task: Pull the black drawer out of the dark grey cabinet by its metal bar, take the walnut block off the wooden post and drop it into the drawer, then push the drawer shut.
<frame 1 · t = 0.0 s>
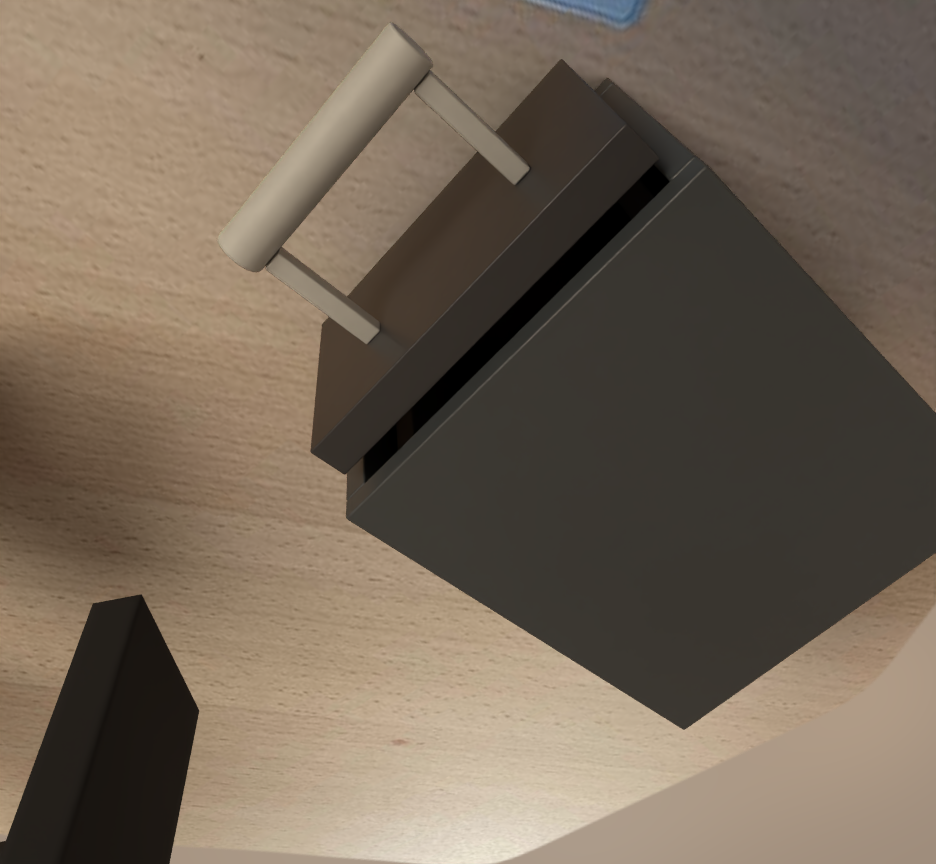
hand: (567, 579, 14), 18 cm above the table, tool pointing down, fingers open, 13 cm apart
drawer: (547, 333, 27), point 5 cm above the table, slide at 0.5 cm
cabinet: (612, 350, 33), on the table
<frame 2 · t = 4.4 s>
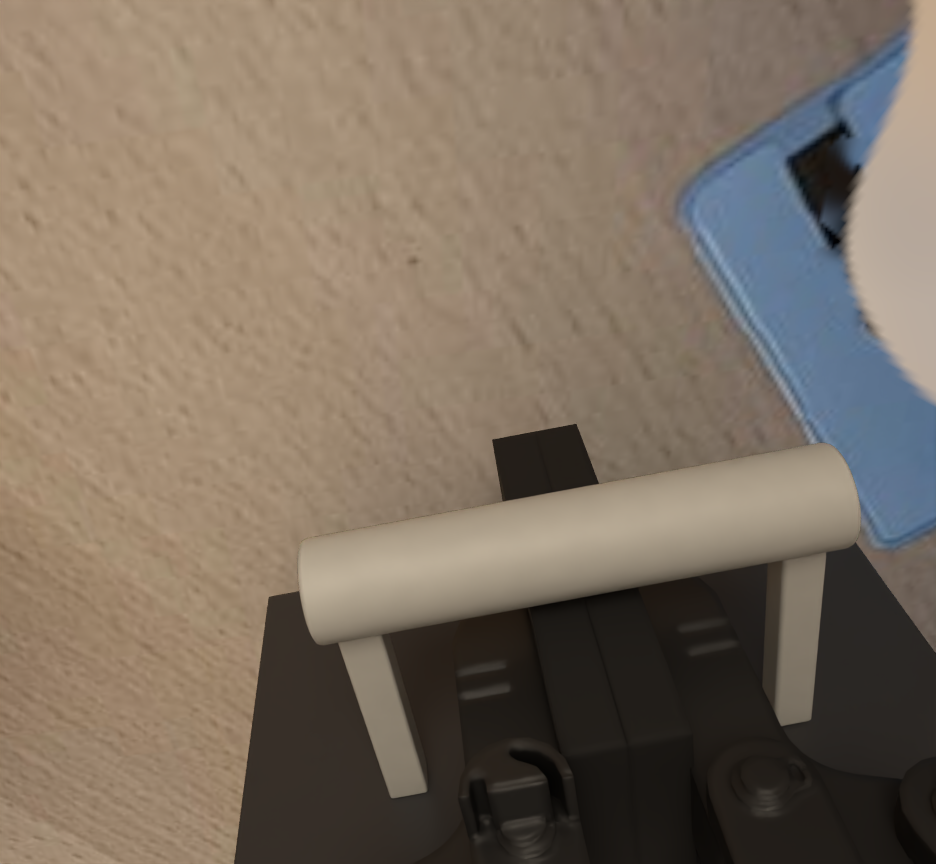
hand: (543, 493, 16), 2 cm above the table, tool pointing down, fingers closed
drawer: (602, 843, 17), point 5 cm above the table, slide at 2.2 cm
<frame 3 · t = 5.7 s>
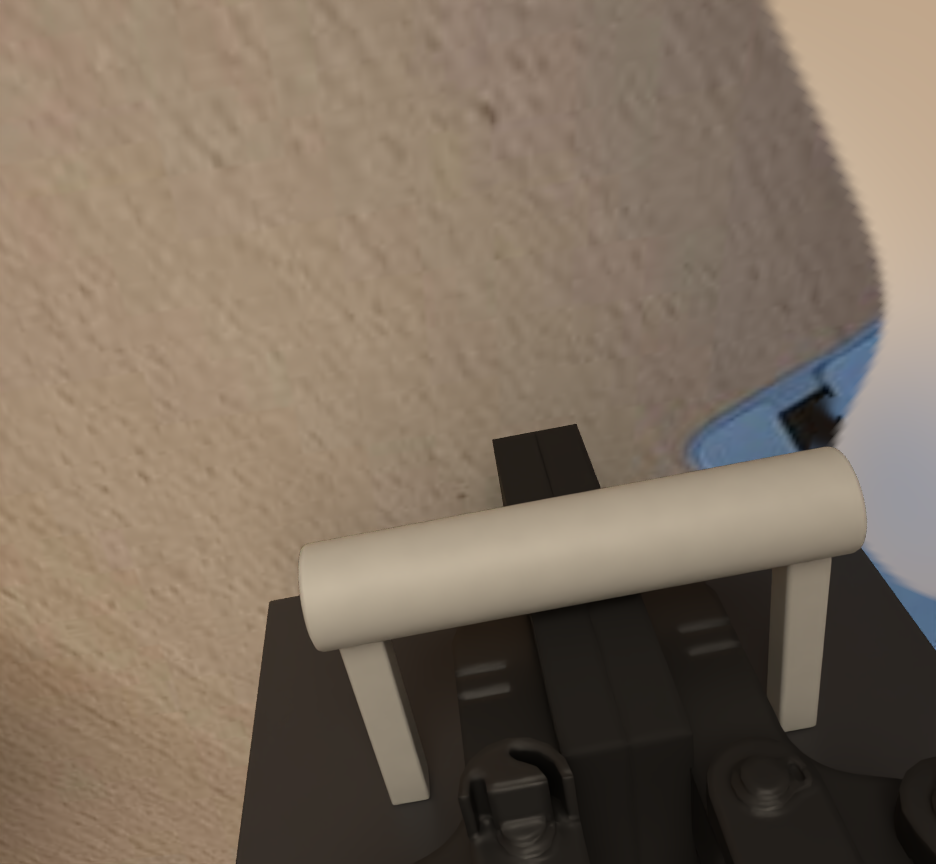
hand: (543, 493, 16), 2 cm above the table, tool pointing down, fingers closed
drawer: (605, 849, 17), point 5 cm above the table, slide at 7.3 cm
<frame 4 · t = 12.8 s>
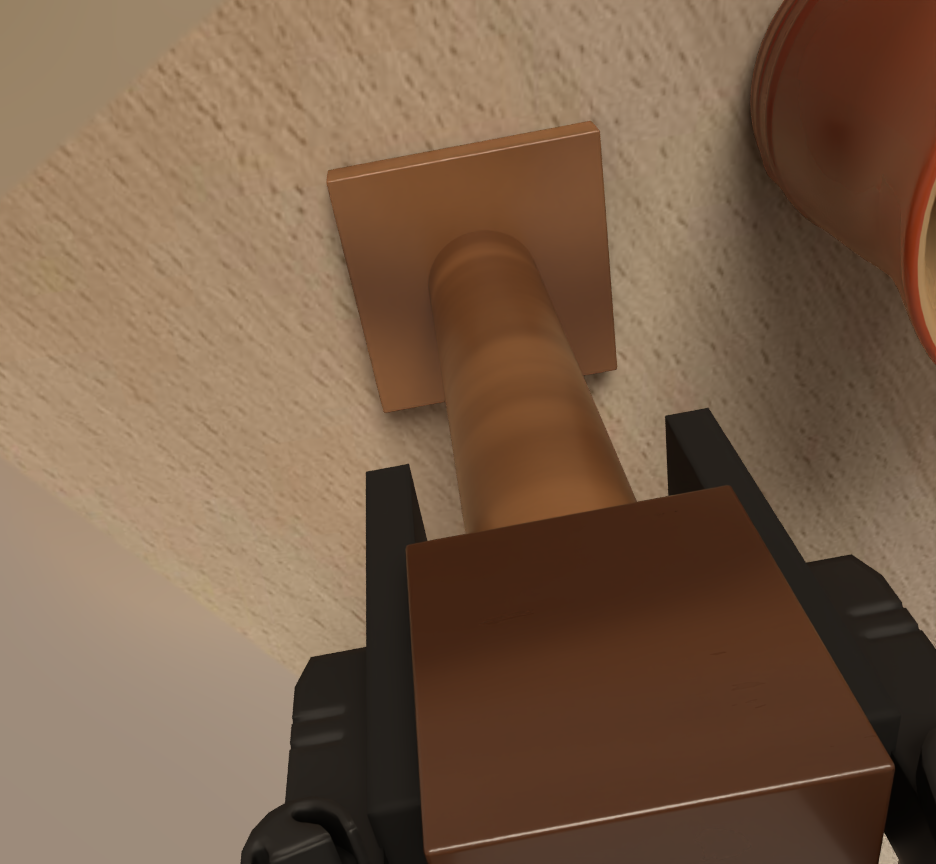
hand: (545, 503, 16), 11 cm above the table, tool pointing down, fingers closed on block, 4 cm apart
post: (479, 269, 25), on the table
block: (581, 629, 13), point 14 cm above the table, touching gripper, post
mug: (924, 76, 23), on the table
when the fingers open (9 cm above the table, at t = 20.3 s): block drops 10 cm, resting on drawer.
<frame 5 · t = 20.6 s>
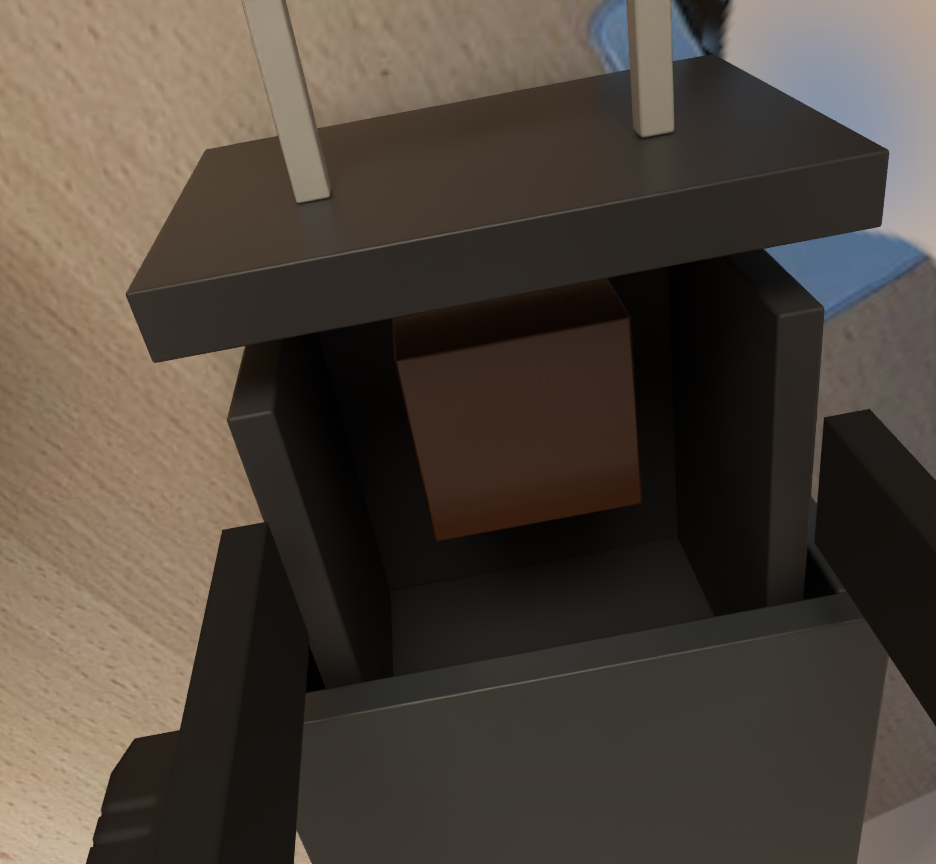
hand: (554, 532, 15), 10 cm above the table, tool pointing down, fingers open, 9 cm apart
drawer: (508, 354, 19), point 5 cm above the table, slide at 7.6 cm, touching block
cabinet: (535, 598, 29), on the table
block: (498, 336, 21), point 2 cm above the table, touching drawer
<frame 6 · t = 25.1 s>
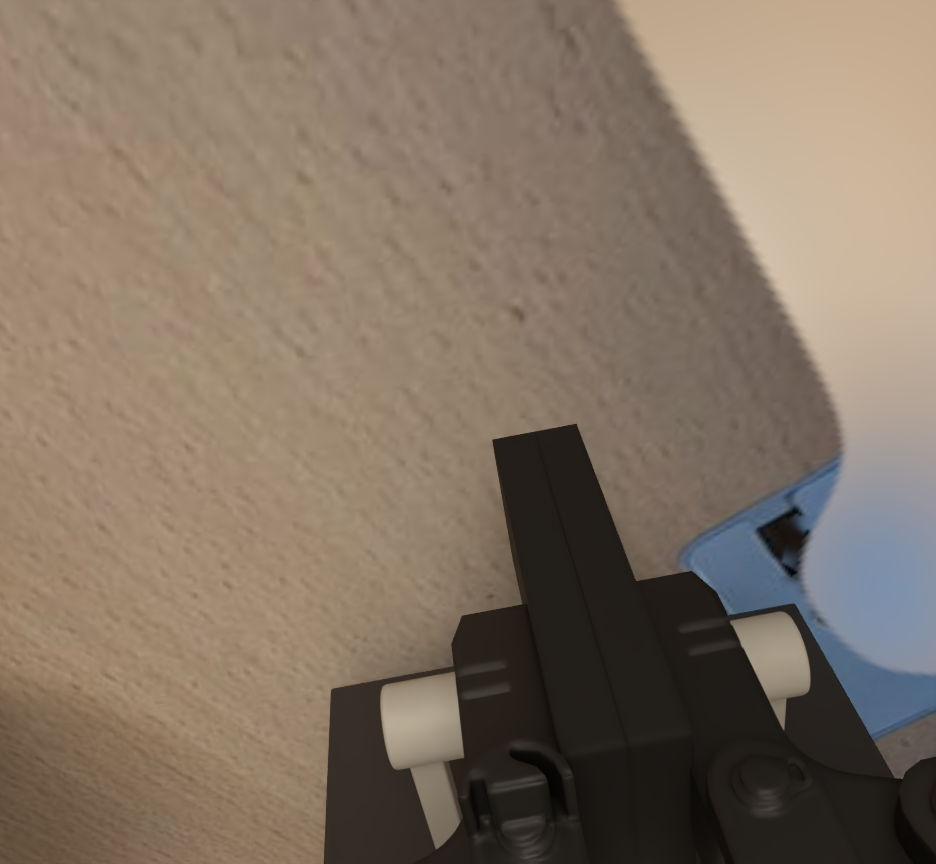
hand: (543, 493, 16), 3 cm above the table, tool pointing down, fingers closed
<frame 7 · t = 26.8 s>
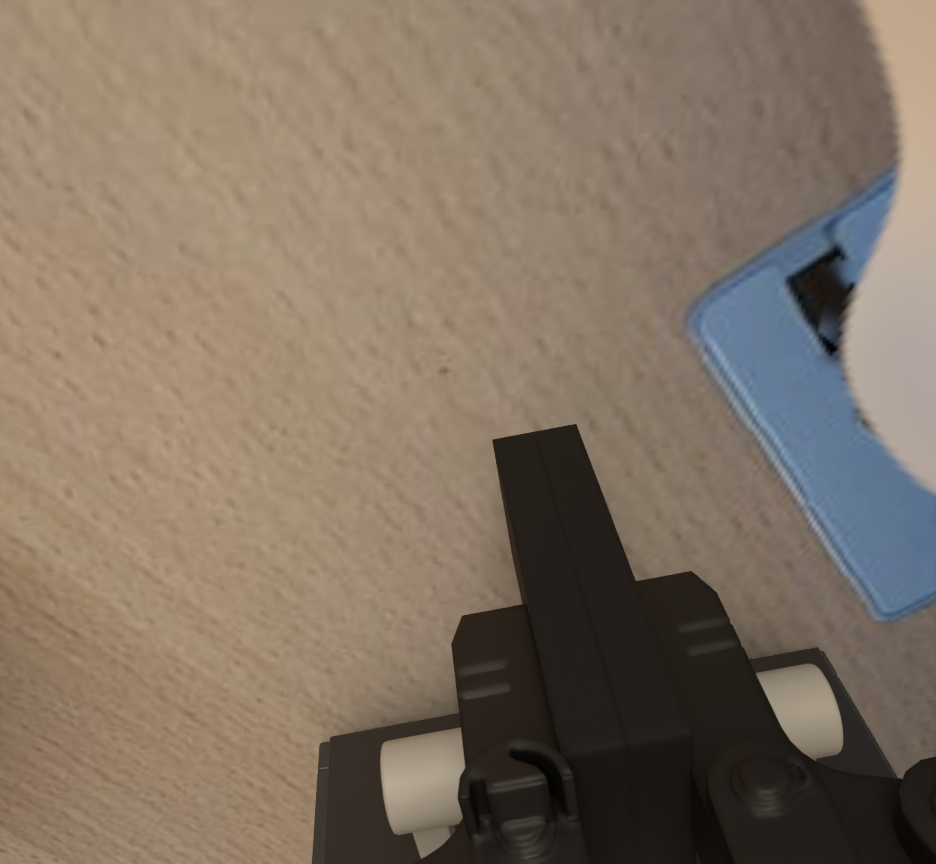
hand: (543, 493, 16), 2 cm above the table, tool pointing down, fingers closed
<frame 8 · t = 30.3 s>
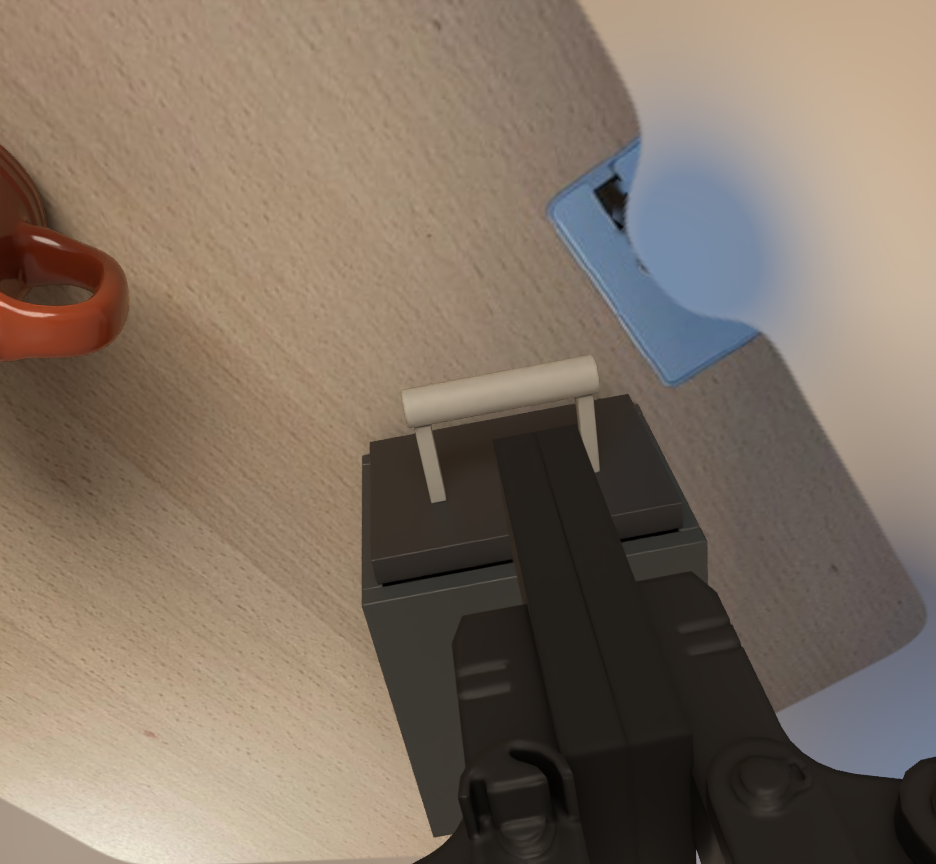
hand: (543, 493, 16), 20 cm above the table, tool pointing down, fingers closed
drawer: (524, 550, 37), point 5 cm above the table, slide at 0.0 cm, touching block, cabinet
cabinet: (520, 551, 44), on the table
mug: (0, 209, 32), on the table
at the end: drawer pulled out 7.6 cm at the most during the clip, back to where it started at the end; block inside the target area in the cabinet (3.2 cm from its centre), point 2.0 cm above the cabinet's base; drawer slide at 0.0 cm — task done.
